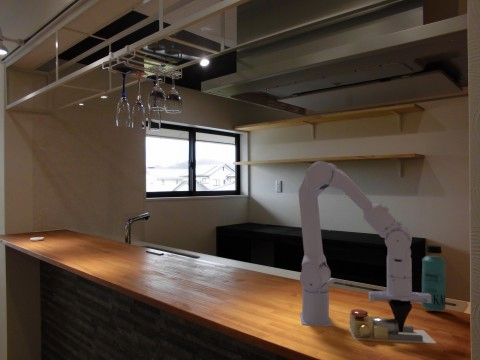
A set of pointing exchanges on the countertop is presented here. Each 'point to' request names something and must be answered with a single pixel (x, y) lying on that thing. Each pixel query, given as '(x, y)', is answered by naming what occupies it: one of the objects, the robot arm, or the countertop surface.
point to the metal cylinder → (387, 324)
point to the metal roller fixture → (406, 336)
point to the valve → (366, 326)
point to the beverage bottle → (434, 279)
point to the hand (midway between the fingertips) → (399, 330)
